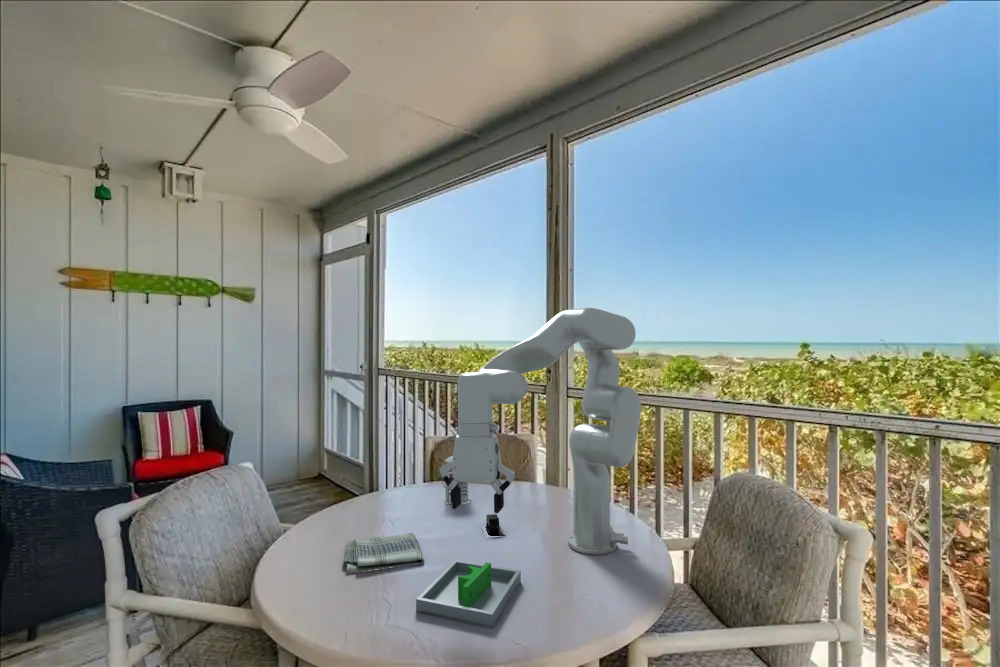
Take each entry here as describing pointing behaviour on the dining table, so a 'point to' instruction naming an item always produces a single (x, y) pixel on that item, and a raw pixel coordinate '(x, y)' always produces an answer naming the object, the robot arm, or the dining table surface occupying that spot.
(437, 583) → the tray
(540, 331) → the robot arm
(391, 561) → the dish towel
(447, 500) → the grey metal lantern
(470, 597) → the pipe clamp
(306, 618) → the dining table surface
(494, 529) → the black block
